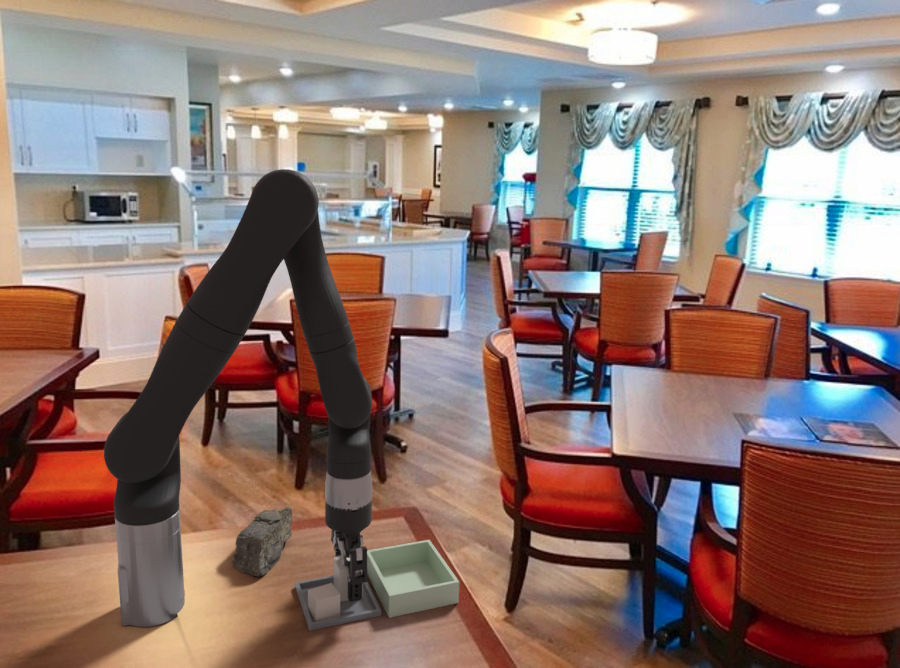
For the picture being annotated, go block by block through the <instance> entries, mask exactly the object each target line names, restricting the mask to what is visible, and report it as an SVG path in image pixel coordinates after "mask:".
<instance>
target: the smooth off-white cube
mask: <svg viewBox="0 0 900 668" xmlns="http://www.w3.org/2000/svg"><path fill="white" fill-rule="evenodd" d="M308 611H309V614H310V616H311V617H312V619H313V620H314V621H315V622H316V621H321V620H325V619H330V618H335V617H340V593H339V592H338V591H337V589H336V588H335V587H334V586H333V584H332V583H329V584H326V585H323V586H319V587H316V588H313V589H309V590H308Z"/></svg>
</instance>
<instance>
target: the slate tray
mask: <svg viewBox="0 0 900 668" xmlns="http://www.w3.org/2000/svg"><path fill="white" fill-rule="evenodd" d="M329 583H332V584H333V586H334V574H332V575H327V576H322V577H317V578H311V579H306V580H301V581H295V582H294V588H295V591H296V594H297V597H298V602H299V604H300V606H301V610H302V612H303V615H304V620H305V621H306V624H307V628H308V631H309V632H310V631H316V630H318V629H323V628H329V627H334V626H338V625H342V624H343V625H344V624H348V623H353V622H357V621H360V620H361V621H362V620H366V619H372V618H375V617H380V616H382V609H381V607H380V605H379V603H378V601H377V599H376V597H375V595H374V593H373V591H372V589H371V586H370V584H369V583H368V581H367V582H363V598H361V599H360V600H357V601H352V602H350V601H349V600H348V601H343V602H340V617H335V618H330V619H325V620H321V621H316V622H315V621H314V620H313V619H312V617H311V616H310V614H309V611H308V590H309V589H313V588H316V587H319V586H323V585H326V584H329Z"/></svg>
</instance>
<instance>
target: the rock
mask: <svg viewBox="0 0 900 668" xmlns="http://www.w3.org/2000/svg"><path fill="white" fill-rule="evenodd" d="M292 523H293V511H292V508H291V507H289V506H285V507H284V508H283V509H277V508H275V509H270V510H269V509H264V510H263V511H260V512H259V513H258V514H257V515H256V516H255V517H254V519H253V520H252V521H251V522H250V523H249V524H248V525H247V526H246V527H244V528H243V530H241V531H240V532H239V533H238V535H237V536H236V539H235V554H234V555H233V556H232V558H231V563H232V564H233V567H234V569H236V570H238V571H240V572H241V573H243V574H246V575H251V576H254V577H263V576H264V575H266V574H267V573H268V572H269V571H271V570H272V569H273V567H275V565H277V563H279V560H280V559H281V556H282V552H283V550H284V544H285V543H286V542H287V541H288V540H289V539H290V538H291V537H292V535H293V532H292V531H291V528H292Z"/></svg>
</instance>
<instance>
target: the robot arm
mask: <svg viewBox="0 0 900 668" xmlns="http://www.w3.org/2000/svg"><path fill="white" fill-rule="evenodd" d="M318 195H319V194H318V191H317V189H316V187H315V185H314V184H313V182H312V181H311V180H310V178H308V177H307V175H306V176H305V175H304V174H303V173H302V172H299V171H296V170H293V169H289V168H288V169H287V168H283V169H275V170H272V171H269V172H267V173H266V174H264V175H263V176H262V177H260V178H259V180H258V181H257V182H256V183H255V185H254V187H253V189H252V191H251V194H250V197H249V200H248V202H247V205H246V206H245V209H244V210H243V213H242V215H241V216H242V217H241V218H240V220H239V222H238V223H237V227H236V229H235V231H234V233H233V235H232V237H231V239H230V240H229V242H228V245H227V246H226V247H225V249H224V251H223V252H222V253H221V254H220V256H219V258H218V259H217V260H216V261H215V263H213V265H212V266H211V268H210V269H209V270H208V271H207V273H206V274H205V275H204V277H202V280H200V282H199V284H198V286H196V288H195V290H194V291H193V293H192V294H191V296H190V298H188V300H187V302H186V304H185V305H184V307H183V309H182V311H181V312H180V314H179V316H178V317H177V319H176V321H175V323H174V325H173V327H172V329H171V330H170V332H169V335H168V336H167V337H166V340H165V342H164V343H163V347H162V348H161V350H160V352H159V355H158V357H157V359H156V361H155V364H154V367H153V368H152V371H151V373H150V375H149V377H148V380H147V382H146V384H145V386H144V388H143V389H142V391H141V393H140V394H139V396H138V397H137V398H136V400H135V401H134V403H133V404H132V405H131V407H130V408H129V410H128V411H126V412H125V414H122V416H121V418H120V419H119V420H118V421H117V423H116V424H115V426H114V427H113V428H112V430H111V431H110V433H109V434H108V435H107V437H106V440H105V443H104V446H103V459H104V464H105V466H106V468H107V469H108V471H109V472H110V474H111V475H112V476H113V477H114V478H115V479H116V487H115V492H114V499H113V512H114V523H115V537H116V548H117V549H116V551H117V561H118V563H117V580H118V591H119V592H118V593H119V605H120V618H121V619H120V621H121V626H123V627H125V626H135V627H138V628H139V627H144V628H147V627H155V626H160V625H162V624H165V623H167V622H170V621H172V620H173V619H175V618H177V616H178V614H179V613H180V612H181V611H182V609H184V607H185V600H186V599H185V595H186V593H185V581H184V580H185V577H184V561H183V549H182V548H183V547H182V546H183V545H182V529H181V512H180V511H181V510H180V491H181V482H182V481H181V480H182V479H181V478H182V477H181V475H182V473H181V447H180V446H181V445H180V434H181V433H182V430H183V428H184V427H185V424H186V423H187V421H188V419H189V416H190V415H191V413H192V411H193V410H194V408H195V407H196V405H197V404H198V403H199V402H200V401H201V399H202V398H203V396H204V395H205V394H206V392H207V391H208V390H209V389H210V387H211V386H212V385H213V384H214V382H215V380H216V379H217V378H218V376H219V375H220V373H221V372H222V371H223V369H224V368H225V367H226V365H227V363H228V362H229V360H230V359H231V358H232V356H233V355H234V353H236V351H237V348H238V347H239V345H240V343H241V341H242V340H243V338H245V335H246V333H247V332H248V330H249V328H250V326H251V324H252V322H253V320H254V318H255V316H256V314H257V312H258V311H259V308H260V306H261V303H262V301H263V299H264V296H265V294H266V291H267V289H268V287H269V284H270V282H271V280H272V278H273V276H274V274H275V273H276V271H277V269H278V268H279V267H280V265H281V263H282V262H283V261H284V264H285V266H286V270H287V273H288V277H289V280H290V285H291V288H292V293H293V298H294V299H293V300H294V303H295V307H296V312H297V316H298V320H299V323H300V327H301V330H302V334H303V336H304V339H305V342H306V347H308V351H309V355H310V357H311V360H312V362H313V364H314V367H315V371H316V376H317V380H318V386H319V389H320V394H321V399H322V401H323V402H322V403H323V405H324V409H325V412H326V414H327V416H328V418H327V419H328V439H327V445H326V474H325V482H324V487H325V488H324V507H325V509H324V521H325V525H326V527H328V529H330V530H331V537H330V541H331V543H332V544H333V551H334V553H335V554H334V555H335V556H341V557H342V565H343V567H345V568H346V571H347V580H348V600H349V601H350V602H352V601H357V600H360V599H361V598H362V583H363V582H367V583H368V575H367V550H368V548H367V546H366V545H364V544H365V543H364V538H363V534H361V532H362V531H364V530H365V529H367V528H368V527H369V526H370V525H371V523H372V519H373V517H372V516H373V515H372V514H373V478H372V477H373V476H372V446H371V445H372V444H371V439H370V427H371V426H370V425H371V412H372V410H373V409H372V408H373V395H372V389H371V385H370V384H369V381H367V379H366V378H365V377H364V375H363V373H362V370H361V366H360V364H359V361H358V352H357V351H358V350H357V346H356V345H357V344H356V341H355V338H354V335H353V331H352V327H351V325H350V324H351V323H350V322H349V318H348V315H347V312H346V308H345V307H344V303H343V300H342V298H341V295H340V293H339V289H338V287H337V284H336V282H335V279H334V276H333V273H332V271H331V268H330V264H329V261H328V257H327V254H326V251H325V246H324V243H323V237H322V230H321V223H320V216H319V204H320V202H319V201H320V200H319V196H318ZM335 556H334V557H335ZM346 558H350V561H348V560H347V559H346ZM358 570H359V572H358V573H355V572H356V571H358Z"/></svg>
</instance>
